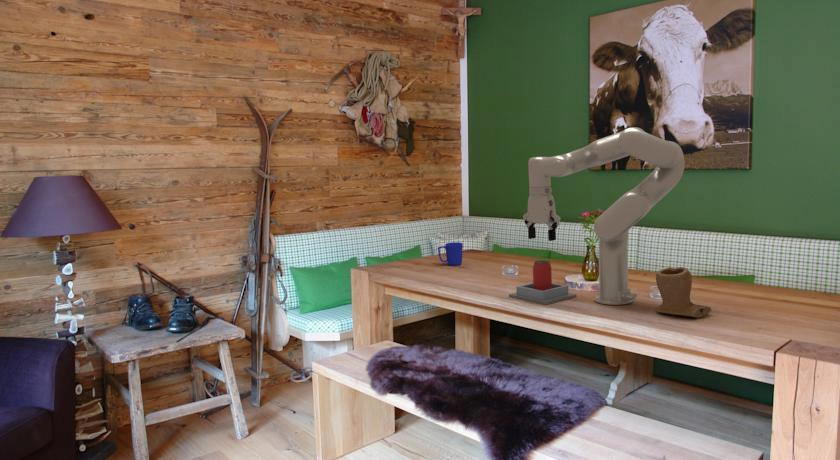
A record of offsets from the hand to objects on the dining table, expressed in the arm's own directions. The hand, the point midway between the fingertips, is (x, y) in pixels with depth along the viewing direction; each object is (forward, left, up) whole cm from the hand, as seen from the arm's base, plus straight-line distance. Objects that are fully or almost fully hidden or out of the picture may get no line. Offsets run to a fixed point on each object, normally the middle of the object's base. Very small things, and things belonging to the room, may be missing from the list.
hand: (542, 239), depth 236 cm
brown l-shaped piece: (-48, -11, -21) cm, 53 cm away
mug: (+76, -19, -21) cm, 81 cm away
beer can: (0, 0, -20) cm, 20 cm away
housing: (0, 0, -21) cm, 21 cm away
